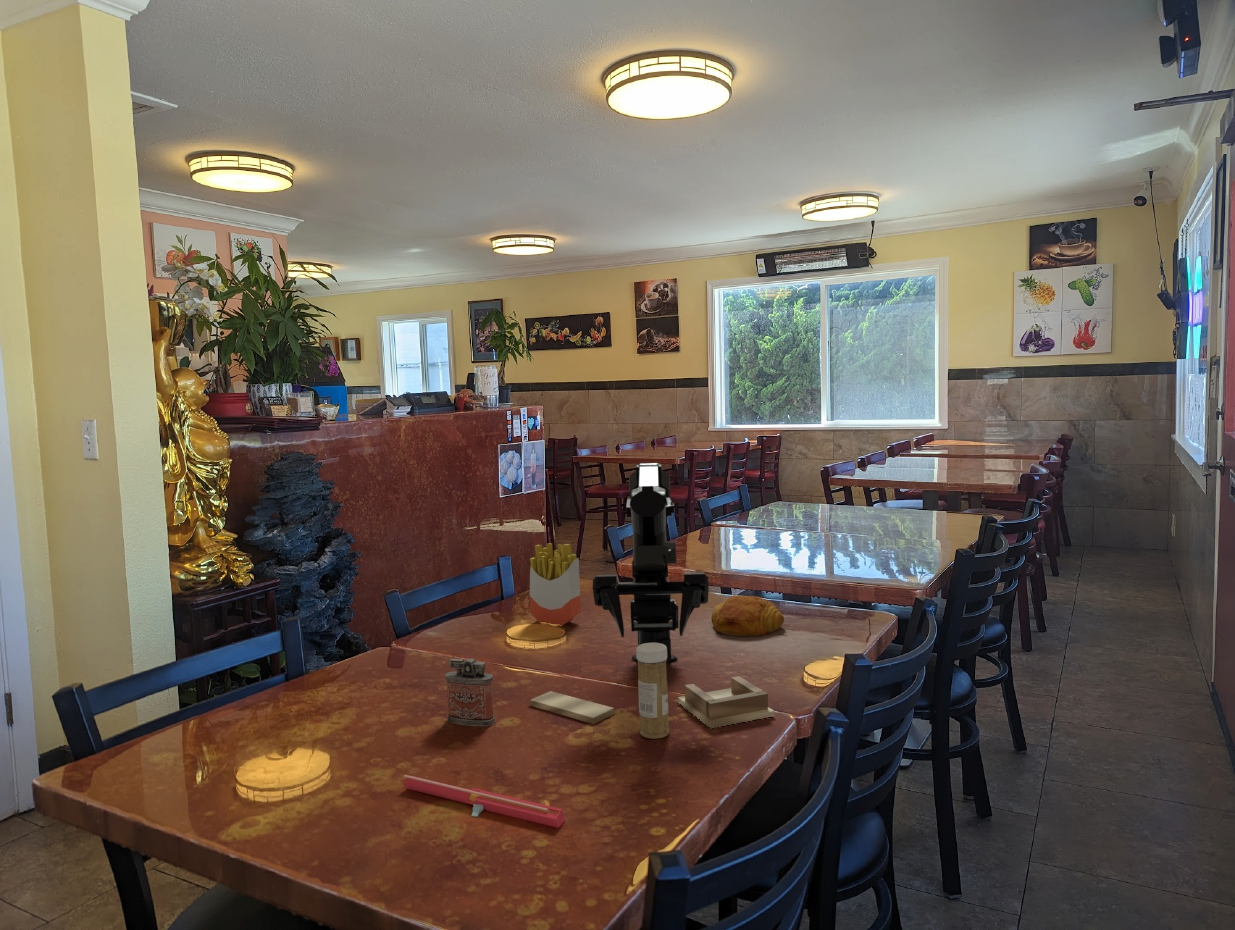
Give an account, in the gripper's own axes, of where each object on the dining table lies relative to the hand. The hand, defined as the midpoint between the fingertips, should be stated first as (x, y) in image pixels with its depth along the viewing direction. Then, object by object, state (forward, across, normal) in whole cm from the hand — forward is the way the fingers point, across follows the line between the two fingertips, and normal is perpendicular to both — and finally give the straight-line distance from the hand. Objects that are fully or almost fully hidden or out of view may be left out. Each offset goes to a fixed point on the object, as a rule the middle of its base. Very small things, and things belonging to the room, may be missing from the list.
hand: (651, 635), depth 131 cm
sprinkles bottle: (+14, 0, +4) cm, 15 cm away
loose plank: (+7, -14, +12) cm, 19 cm away
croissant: (-26, +20, +44) cm, 55 cm away
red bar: (+30, -22, -11) cm, 39 cm away
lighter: (+10, -29, +9) cm, 32 cm away
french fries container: (-31, -22, +49) cm, 62 cm away
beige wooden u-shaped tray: (+8, +11, +11) cm, 17 cm away
